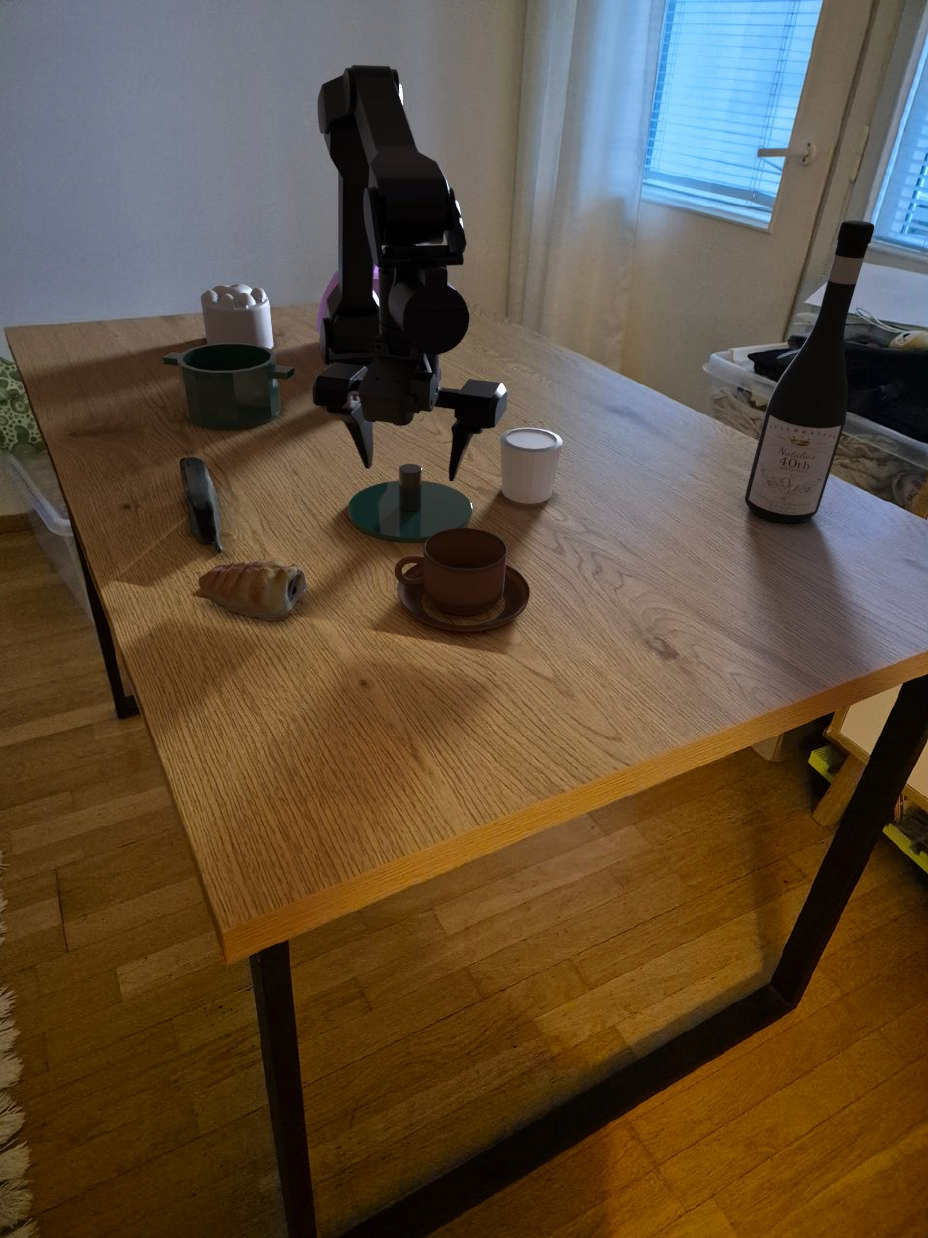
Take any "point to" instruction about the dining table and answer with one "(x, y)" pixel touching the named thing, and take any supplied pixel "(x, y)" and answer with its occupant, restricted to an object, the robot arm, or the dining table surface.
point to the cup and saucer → (462, 579)
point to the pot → (230, 384)
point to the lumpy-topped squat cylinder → (237, 315)
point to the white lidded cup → (529, 464)
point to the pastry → (255, 587)
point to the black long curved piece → (201, 501)
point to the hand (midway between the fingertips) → (410, 473)
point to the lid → (408, 508)
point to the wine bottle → (809, 400)
